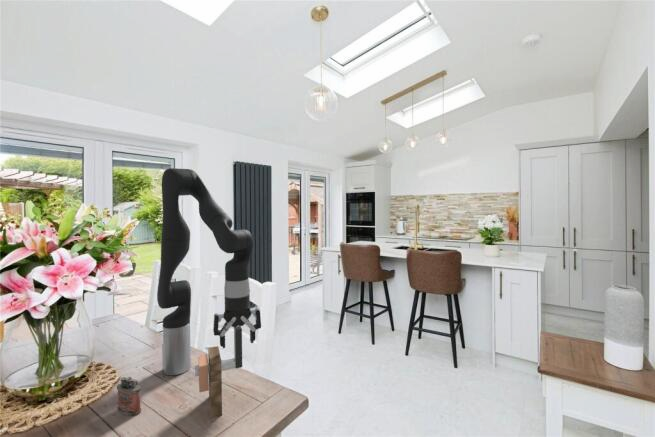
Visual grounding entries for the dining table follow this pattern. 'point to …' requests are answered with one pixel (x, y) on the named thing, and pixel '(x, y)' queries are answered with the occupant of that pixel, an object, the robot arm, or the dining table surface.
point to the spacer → (203, 373)
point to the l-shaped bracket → (237, 359)
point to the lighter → (129, 397)
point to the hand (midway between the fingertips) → (237, 344)
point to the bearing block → (215, 382)
